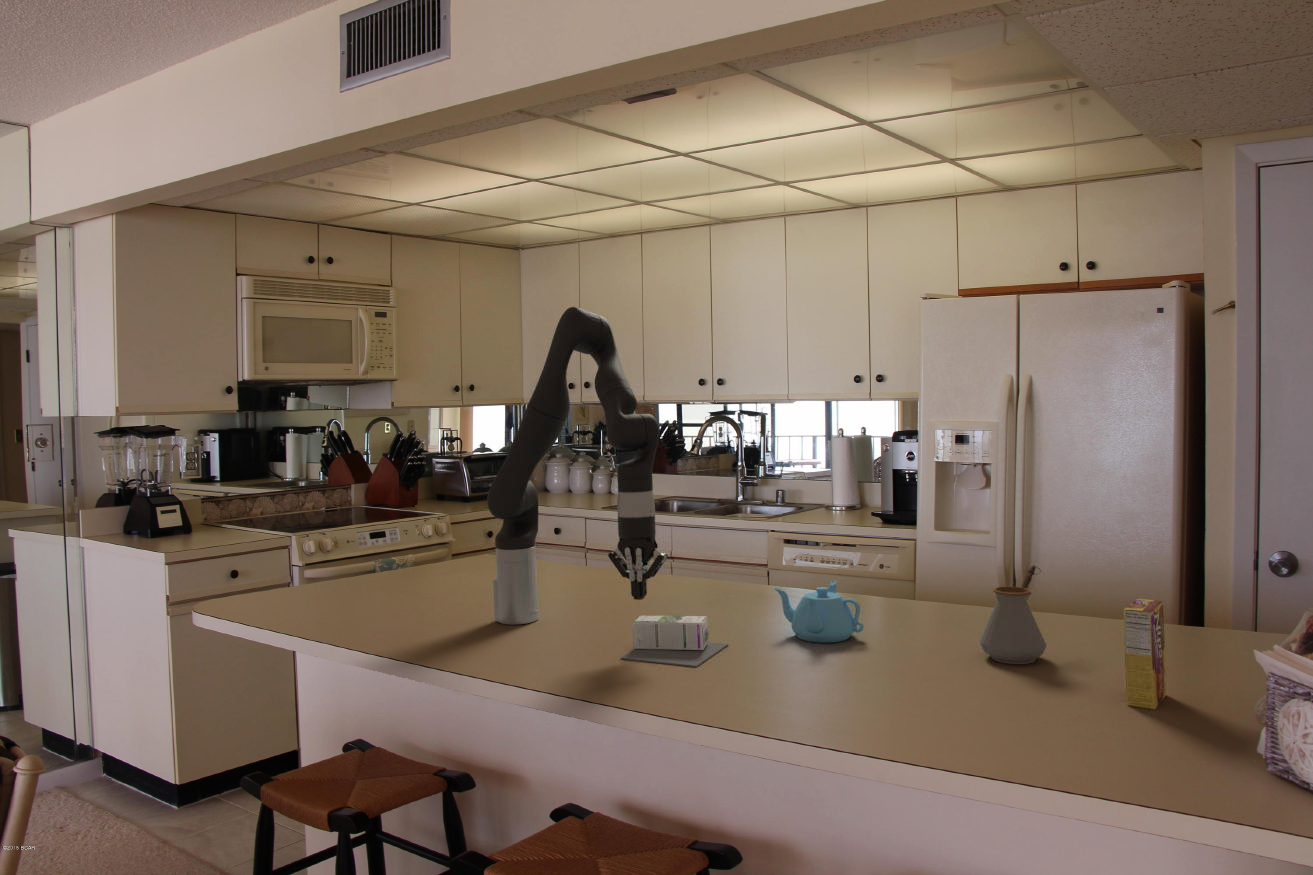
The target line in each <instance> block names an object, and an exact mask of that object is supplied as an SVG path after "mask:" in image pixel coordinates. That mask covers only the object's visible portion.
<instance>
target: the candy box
mask: <svg viewBox="0 0 1313 875" xmlns="http://www.w3.org/2000/svg"><path fill="white" fill-rule="evenodd" d="M1122 614H1123V636H1124V661H1125V662H1124V663H1125V664H1124V665H1125V685H1126V686H1125V687H1126V688H1125V689H1126V705H1127V706H1128V707H1134V708H1140V709H1147V710H1156V709H1157V707H1158V706H1159V705H1160V704H1161V703H1162V701H1163V700H1164V699H1165V697H1167V696H1166V695H1167V694H1168V691H1167V671H1166V670H1167V668H1166V667H1167V666H1166V648H1165V644H1166V643H1165V622H1164V601H1163V600H1154V599H1144V598H1136V599H1134V600H1133V602H1131V603H1130V604H1129V605H1128V606H1127V607H1125V608H1124V609H1123V613H1122Z"/></svg>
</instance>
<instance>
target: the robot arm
mask: <svg viewBox="0 0 1313 875" xmlns="http://www.w3.org/2000/svg"><path fill="white" fill-rule="evenodd" d="M574 351H575V352H578V353H581V354H584V355H590V357H592V359H593V360H594V362H595V363H596V365H597V367H598V368H597V371H596V374H595V375H594V376H595V377H594V389H595V393H596V395H597V398H598V400H599V402H600V405H601V408H602V409H603V412H604V417H605V424H606V425H605V426H606V438H607V441H608V443H609V444H610V446H611V447H613V448H614V449H616V450H620V451H624V450H636V453H635V456H634V457H633V458H631V459H630V460H626V461H623V462H620V463H619V464H618V465H617V470H616V471H617V472H616V473H617V474H616V476H617V500H616V501H617V502H616V507H617V508H616V509H617V512H616V513H617V533H618V534H617V535H618V538H619V540H618V543H617V547H616V548H615V549H614V550H613V551H611V552H609V553H607V556H608V559H610V561H611V562H612V564H613V565H614V567H615V568H616V570H617V571H618V572H619V574H620V575H621V577H622V578H624V579H625V578H626V579H628V580H629V581H630V590H631V591H630V593H631V597H633V599H634V600H635V601H636V600H637V601H641V600H644V599H645V597H646V596H647V595H648V591H647V590H648V589H647V587H648V586H647V584H648V583H647V581H648V580H649V579H651V578H654V577H655V576H656V575H657V574H658V572H659V570H660V569H661V567H662V566H663V565H664V563H665V562H666V561H667V560H668V557H669V556H668V553H666V552H664V553H663V552H662V551H661V550H660V549H659V548H658V546H659V545H658V542H657V541H656V532H657V531H656V506H655V497H654V490H653V488H654V487H653V486H654V484H653V466H654V462H655V458H656V452H657V449H658V444H659V440H660V432H661V431H660V426H659V423H658V421H657V419H656V417H654V416H653V415H652V414H650V413H637V414H636V413H635V412H636V410H637V408H638V401H637V398H636V396H635V394H634V391H633V389H632V388H631V385H630V383H629V381H628V379H627V377H626V376H625V372H624V370H623V367H622V364H621V361H620V356H619V352H618V349H617V344H616V340H615V337H614V333H613V329H612V327H611V325H610V323H609V321H608V320H607V319H606V317H604V316H602V315H600V314H597V313H595V312H591V311H589V310H586V309H583V308H579V307H578V306H571V307H568V308H567V309H565V311H564V312H563V313H562V315H561V317H560V318H559V321H558V323H557V326H556V327H555V331H554V334H553V337H552V340H551V343H550V347H549V350H548V352H547V356H546V359H545V362H544V364H543V368H542V371H541V374H540V376H539V378H538V380H537V384H536V386H535V389H534V391H533V392H532V394H531V397H530V398H529V401H528V403H527V406H526V408H525V411H524V413H523V415H522V418H521V422H520V424H519V426H518V429H517V431H516V433H515V435H514V438H513V441H512V443H511V446H510V448H509V451H508V453H507V456H506V458H505V460H504V461H503V462H502V464H501V465H502V466H500V469H499V470H498V473H497V474H496V476H495V478H494V480H493V481H492V484H491V485H490V487H489V490H488V493H487V499H486V500H487V508H488V510H489V512H490V514H491V515H492V516H493V517H494V518H496V519H498V520H502V526H501V528H500V530H499V532H498V533H497V534H496V536H495V537H494V539H495V540H494V544H495V545H494V546H495V564H496V565H495V567H496V570H495V572H496V579H494V580H493V581H492V586H493V589H492V590H493V613H494V616H493V617H494V622H498V623H500V624H503V625H523V624H524V625H525V624H530V623H534V622H536V621H537V620H538V619H539V602H538V600H539V599H538V582H537V581H538V580H537V578H538V576H537V551H536V550H537V547H536V539H537V535H538V531H539V496H538V491H537V488H536V485H535V484H534V483H533V482H532V480H530V479H531V477H532V475H533V473H534V470H535V469H536V467H537V466H538V464H539V463H540V462H541V461H542V459H543V458H544V457H545V456H546V454H547V453H548V452H549V451H550V449H551V448H552V447H553V446H554V444H556V442H557V440H558V439H559V437H560V434H561V433H562V430H563V428H564V426H565V424H566V421H567V418H568V416H569V414H570V408H571V406H570V405H571V402H570V392H569V388H568V380H567V374H568V373H567V372H568V366H569V363H570V360H571V358H572V354H573V353H574ZM652 558H653V562H652V564H651V565H650V561H651V560H652Z"/></svg>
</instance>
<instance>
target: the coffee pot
mask: <svg viewBox="0 0 1313 875" xmlns="http://www.w3.org/2000/svg"><path fill="white" fill-rule="evenodd" d="M1036 569H1038V570H1039V572H1038V573H1035V571H1036ZM1041 572H1042V571H1041V568H1039V567H1038V566H1036V565H1035V564H1034V565H1032V566H1030V567H1028V571H1027V574H1026V575H1025V577H1024V579H1023V582H1022V584H1021V586H998V587H995V588H993V589H992V591H993V593H995V597H996V602H995V604H994V607H993V609H992V610H991V611H992V612H991V613H990V616H989V618H988V619H987V622H986V625H985V628H984V630H983V632H982V634H981V637H980V639H979V643H980V646H981V649H982V650H983V651H984V652H985V653H986V654H987V655H988V656H990V659H992V661H993V660H994V661H995V662H998V663H1003V664H1008V665H1009V664H1010V665H1027V664H1028V665H1029V664H1031V663H1035V661H1036V659H1038V658H1040V657H1042V656H1043V654H1044V653H1045V650H1046V649H1047V643H1046V641H1045V639H1044V636H1043V635H1042V633H1041V630H1040V628H1039V626H1038V623H1037V621H1036V619H1035V618H1034V614H1033V613H1032V611H1031V608H1030V606H1029V604H1028V602H1027V601H1028V599H1029V597H1030V596H1031V594H1032V590H1030V589H1028V587H1029V586H1030V583H1031V582H1032V580H1033V579H1032V578H1033V576H1035V575H1036V576H1037V575H1040V574H1041Z"/></svg>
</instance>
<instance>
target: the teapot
mask: <svg viewBox="0 0 1313 875" xmlns="http://www.w3.org/2000/svg"><path fill="white" fill-rule="evenodd" d="M837 583H838V582H837V580H836V579H834V580H832V581H830V584H829V587H825V586H818V587H816V588H815V591H816V592H815V591H814V592H808V593H806V594H804V595H803V596H802V597H801V599H800V600H799V602H798V604H797V605H796V607H795V608H793V607H792V605H791V604H790V603H791V602H790V599H789V596H788V593H787V592H786V590H783V589H781V588H778V587H773V590H774V591H776V592H777V593H778V594H779V596H780V598H781V604H782V611H783V614H784V616H785V619H787V621H788V622H789V623H791V629H792V631H793V633H794V634H795V635H796V636H797V638H799V639H801V640H802V641H807V642H812V643H813V642H814V643H829V644H830V643H839V642H843V641H846V640H848V639H850V637H851V636H852V635H853V634H854V633H856V634H857V633H862V632H863V631H864V628H865V626H864V624H863V622H861V621H858V620H859V618H860V614H861V605H860V604H859V601H857V600H855V599H854V598H851V597H848V598H847V597H846V598H844V597H843V596H842V595H841V594H839V593H837ZM848 603H850V604H852V605H854V607H855V614H853V612H852V609H851V608H850V606H849V604H848ZM858 626H859V628H858Z"/></svg>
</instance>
